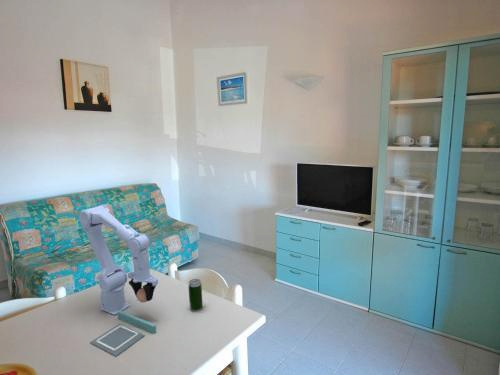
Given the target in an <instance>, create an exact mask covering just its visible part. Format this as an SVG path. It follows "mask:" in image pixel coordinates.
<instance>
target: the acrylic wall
mask: <svg viewBox="0 0 500 375" xmlns="http://www.w3.org/2000/svg"><path fill="white" fill-rule="evenodd" d="M116 315H117V319H118V320H121V321H123V322H125V323H128V324H130V325H132V326H135V327H137V328H139V329H141V330H144V331H145V332H149V333H151V334H153V335H154V334H155V333H157V326H156V325H157V324H154V323H152V322H150V321H147V320H146V319H145V320H144V318H143V319H142V318H140V317H137V316H135V315H132V314H130V313H128V312H125V311H124V310H122V311H121V310H119V311H118V312H117V314H116Z"/></svg>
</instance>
